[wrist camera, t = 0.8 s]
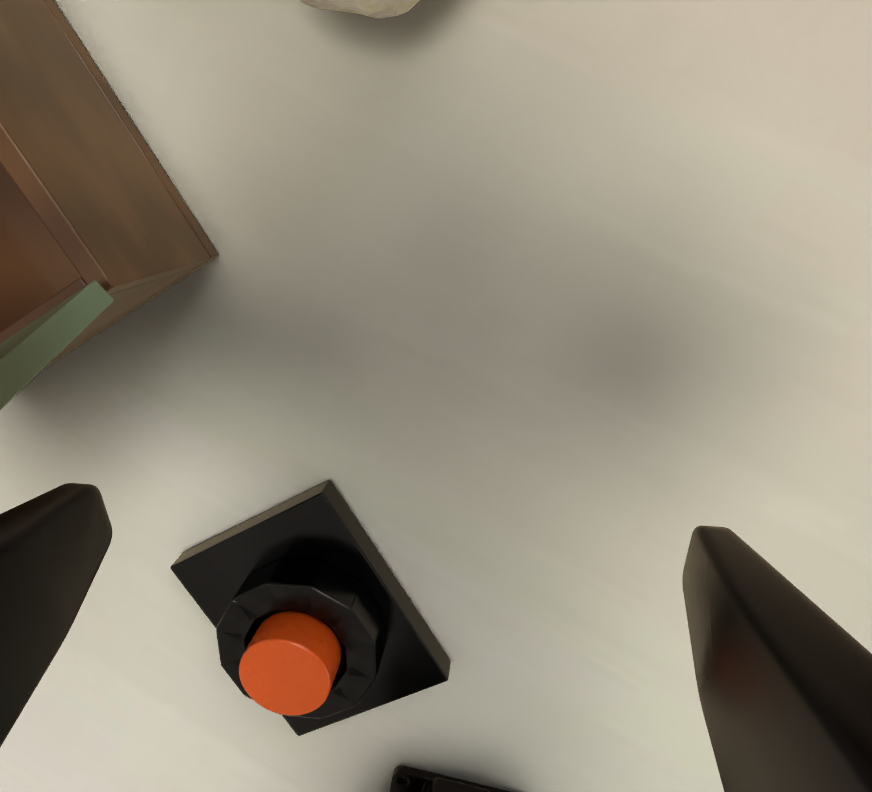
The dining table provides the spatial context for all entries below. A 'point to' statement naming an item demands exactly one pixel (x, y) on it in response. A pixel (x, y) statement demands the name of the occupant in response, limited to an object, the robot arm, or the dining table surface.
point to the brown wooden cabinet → (78, 184)
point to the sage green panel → (47, 338)
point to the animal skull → (365, 6)
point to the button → (290, 663)
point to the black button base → (316, 601)
